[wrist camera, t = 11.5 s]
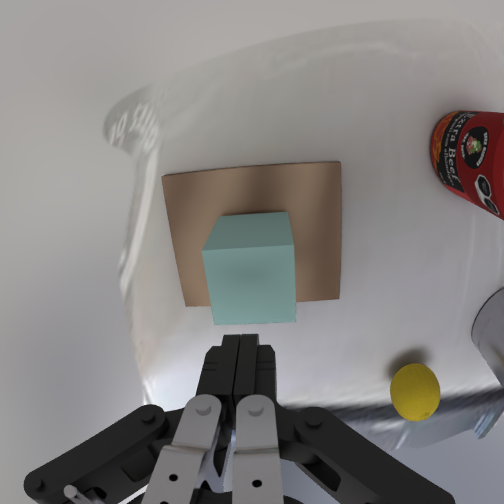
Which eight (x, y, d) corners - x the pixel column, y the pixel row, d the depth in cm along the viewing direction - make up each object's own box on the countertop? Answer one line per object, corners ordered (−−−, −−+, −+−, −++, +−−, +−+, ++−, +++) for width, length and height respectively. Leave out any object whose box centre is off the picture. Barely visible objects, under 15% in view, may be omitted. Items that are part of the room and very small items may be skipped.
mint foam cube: (287, 211, 23) (293, 244, 17) (290, 273, 25) (296, 321, 19) (219, 216, 24) (201, 250, 18) (227, 277, 26) (214, 324, 20)
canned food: (438, 96, 20) (524, 94, 10) (500, 132, 21) (582, 151, 11) (416, 178, 23) (494, 217, 13) (479, 205, 24) (555, 250, 14)
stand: (338, 161, 23) (367, 179, 16) (337, 294, 28) (355, 349, 21) (164, 175, 25) (124, 198, 17) (187, 301, 29) (165, 356, 22)
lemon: (386, 354, 31) (407, 408, 23) (429, 345, 30) (456, 395, 23) (380, 386, 33) (396, 438, 26) (420, 378, 32) (441, 426, 25)
